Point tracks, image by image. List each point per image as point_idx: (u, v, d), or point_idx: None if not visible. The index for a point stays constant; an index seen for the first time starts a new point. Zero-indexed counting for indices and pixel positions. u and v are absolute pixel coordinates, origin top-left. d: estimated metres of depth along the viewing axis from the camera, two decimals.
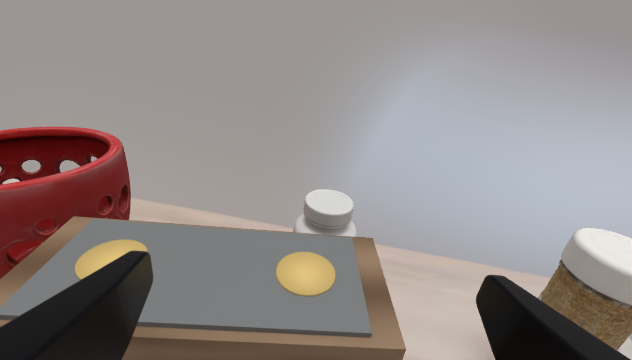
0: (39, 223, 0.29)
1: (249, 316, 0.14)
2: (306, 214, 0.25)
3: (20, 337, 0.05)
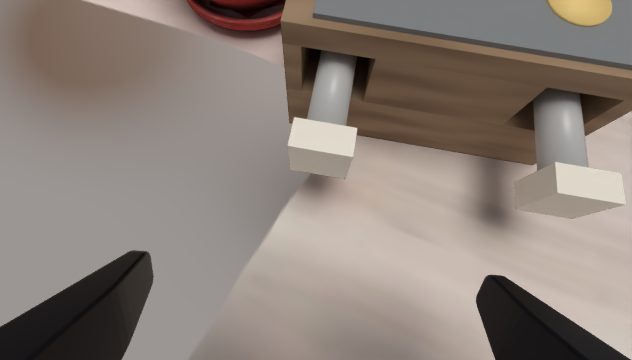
0: None
1: (529, 39, 0.15)
2: None
3: (20, 337, 0.05)
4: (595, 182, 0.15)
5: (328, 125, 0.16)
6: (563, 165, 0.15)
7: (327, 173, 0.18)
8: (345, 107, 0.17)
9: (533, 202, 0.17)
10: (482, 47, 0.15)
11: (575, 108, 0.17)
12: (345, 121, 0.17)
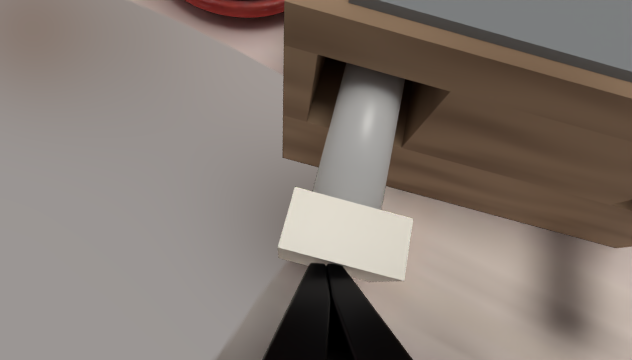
0: None
1: None
2: None
3: (300, 350, 0.05)
4: None
5: (359, 209, 0.08)
6: None
7: None
8: (386, 167, 0.10)
9: None
10: None
11: None
12: (383, 191, 0.10)
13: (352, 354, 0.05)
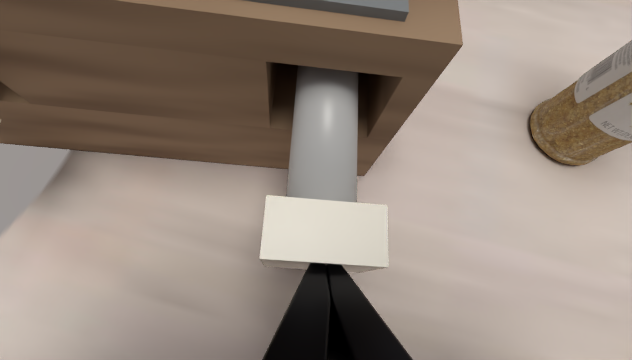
0: None
1: None
2: None
3: (300, 350, 0.05)
4: (337, 228, 0.08)
5: None
6: (281, 200, 0.08)
7: None
8: None
9: (264, 264, 0.09)
10: None
11: (335, 90, 0.10)
12: None
13: (352, 354, 0.05)
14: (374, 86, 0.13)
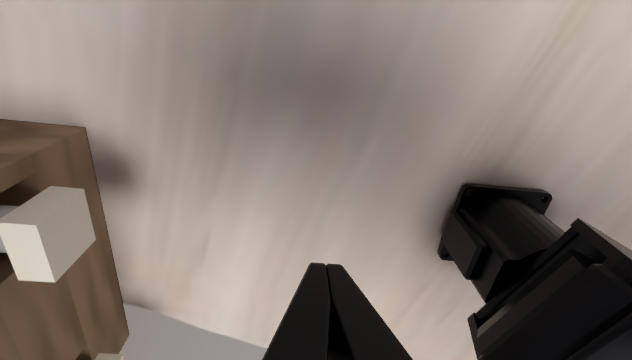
0: None
1: None
2: None
3: (300, 350, 0.05)
4: (23, 249, 0.14)
5: None
6: (18, 274, 0.14)
7: None
8: None
9: (79, 256, 0.16)
10: None
11: None
12: None
13: (352, 354, 0.05)
14: None
